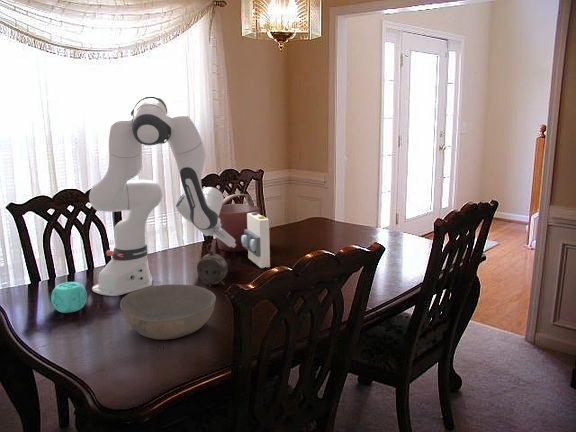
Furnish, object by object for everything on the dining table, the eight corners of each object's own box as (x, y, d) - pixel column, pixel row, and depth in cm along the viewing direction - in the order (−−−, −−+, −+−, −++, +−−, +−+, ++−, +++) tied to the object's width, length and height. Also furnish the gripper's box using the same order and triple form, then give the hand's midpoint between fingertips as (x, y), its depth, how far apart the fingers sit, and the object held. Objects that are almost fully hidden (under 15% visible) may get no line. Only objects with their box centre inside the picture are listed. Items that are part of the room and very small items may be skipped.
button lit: (254, 252, 214) (254, 240, 213) (250, 249, 218) (250, 238, 217) (258, 252, 214) (258, 240, 213) (254, 249, 219) (254, 237, 218)
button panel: (257, 268, 214) (256, 219, 210) (245, 258, 228) (243, 211, 224) (270, 266, 216) (268, 217, 212) (256, 256, 230) (255, 210, 226)
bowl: (106, 329, 158) (103, 298, 156) (184, 304, 176) (182, 276, 174) (154, 360, 138) (151, 324, 136) (235, 328, 157) (234, 297, 155)
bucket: (247, 238, 263) (245, 189, 258) (272, 247, 246) (271, 194, 240) (203, 246, 249) (200, 194, 244) (226, 256, 231) (224, 201, 226)
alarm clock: (228, 284, 196) (227, 242, 192) (223, 289, 191) (221, 246, 187) (202, 282, 199) (199, 240, 195) (195, 286, 193) (193, 244, 190)
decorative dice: (69, 314, 169) (66, 291, 168) (52, 310, 173) (49, 287, 171) (88, 306, 176) (86, 283, 175) (71, 302, 180) (69, 280, 178)
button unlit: (245, 248, 220) (244, 236, 219) (241, 245, 225) (241, 234, 224) (249, 247, 221) (248, 236, 220) (245, 244, 226) (245, 233, 225)
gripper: (222, 223, 198) (247, 245, 204) (208, 213, 217) (231, 234, 223) (211, 236, 197) (237, 258, 203) (198, 225, 216) (221, 245, 222)
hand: (234, 245), depth 213 cm, fingers closed
